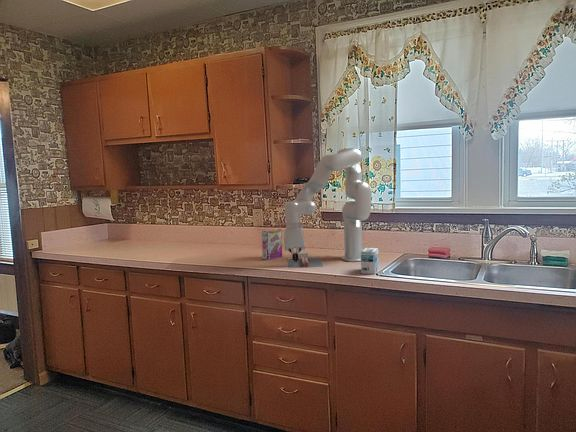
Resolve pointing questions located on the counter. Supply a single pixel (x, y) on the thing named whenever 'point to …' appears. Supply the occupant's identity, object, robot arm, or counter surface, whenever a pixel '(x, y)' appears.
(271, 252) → the candy bar box
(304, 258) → the tongs fixed
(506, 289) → the counter surface
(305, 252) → the lock tab
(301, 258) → the tong arm
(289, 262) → the mat
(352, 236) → the robot arm
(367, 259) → the light bulb box
